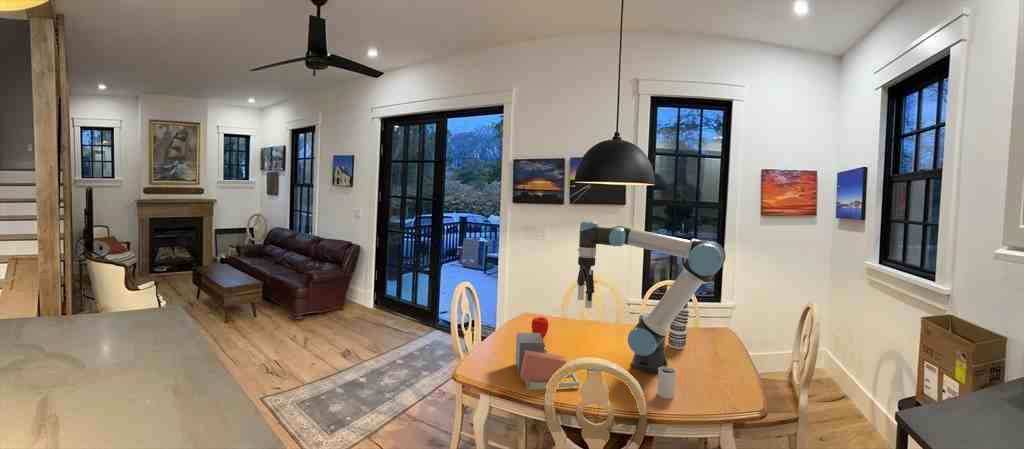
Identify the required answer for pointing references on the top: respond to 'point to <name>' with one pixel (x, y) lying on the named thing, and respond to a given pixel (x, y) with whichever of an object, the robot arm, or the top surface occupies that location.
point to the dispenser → (527, 346)
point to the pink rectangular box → (540, 366)
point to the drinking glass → (666, 382)
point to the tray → (543, 384)
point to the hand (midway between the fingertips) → (584, 303)
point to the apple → (540, 326)
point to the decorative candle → (679, 329)
